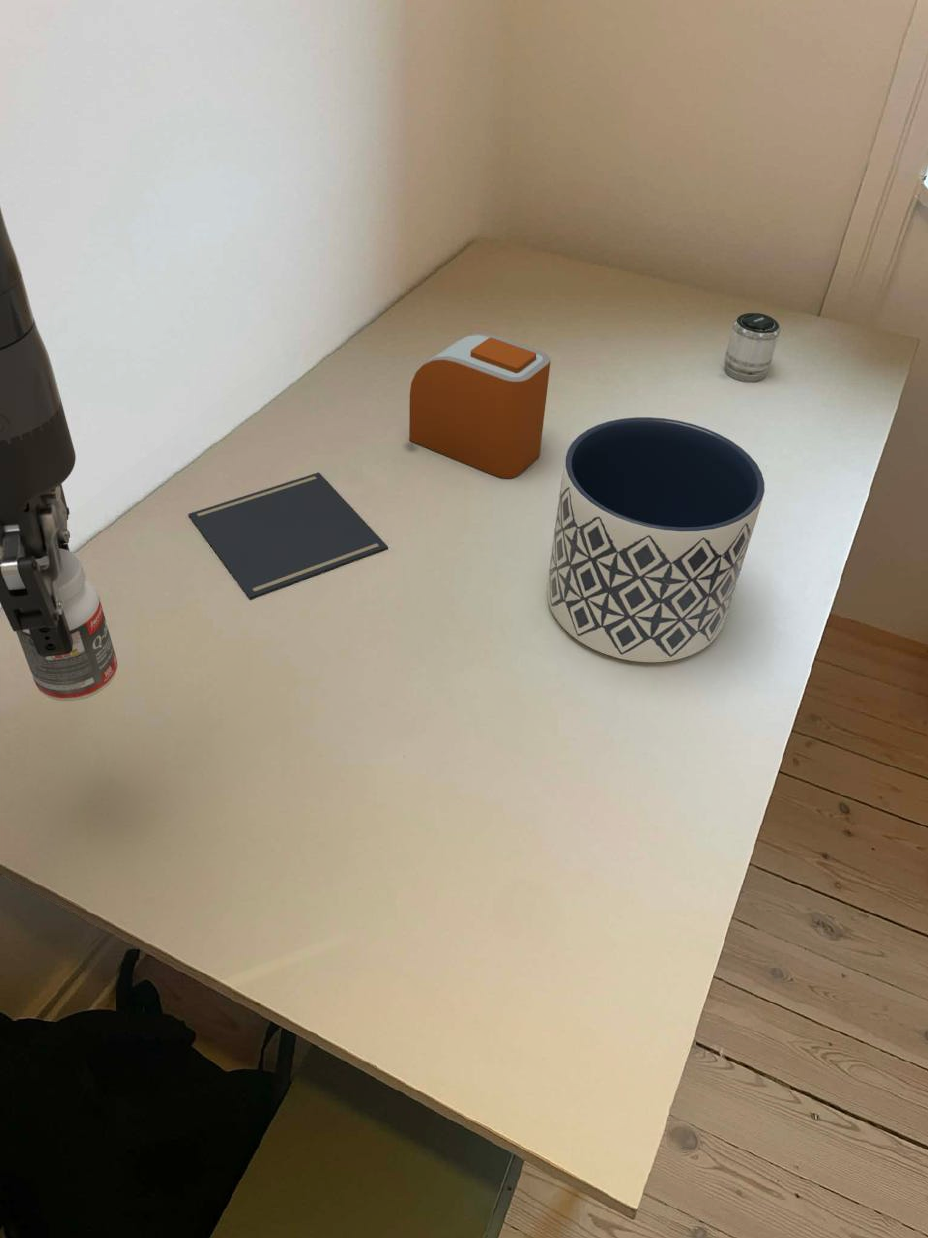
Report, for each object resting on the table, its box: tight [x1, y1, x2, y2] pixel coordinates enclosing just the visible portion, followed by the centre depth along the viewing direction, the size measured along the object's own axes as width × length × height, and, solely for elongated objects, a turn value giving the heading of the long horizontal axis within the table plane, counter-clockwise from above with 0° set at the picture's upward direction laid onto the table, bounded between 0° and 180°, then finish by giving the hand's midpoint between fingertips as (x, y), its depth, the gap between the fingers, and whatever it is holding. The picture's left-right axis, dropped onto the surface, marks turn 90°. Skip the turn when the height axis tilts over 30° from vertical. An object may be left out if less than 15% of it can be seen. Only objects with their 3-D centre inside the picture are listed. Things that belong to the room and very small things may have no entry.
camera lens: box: [724, 312, 781, 383], centre depth 133 cm, size 6×6×8 cm
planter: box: [546, 416, 766, 663], centre depth 93 cm, size 18×18×16 cm
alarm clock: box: [408, 332, 552, 479], centre depth 114 cm, size 15×8×14 cm, turn 57°
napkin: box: [187, 472, 389, 600], centre depth 105 cm, size 16×16×1 cm
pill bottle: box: [15, 548, 118, 702], centre depth 67 cm, size 6×6×10 cm
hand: (59, 618), depth 66 cm, fingers closed on pill bottle, 5 cm apart
